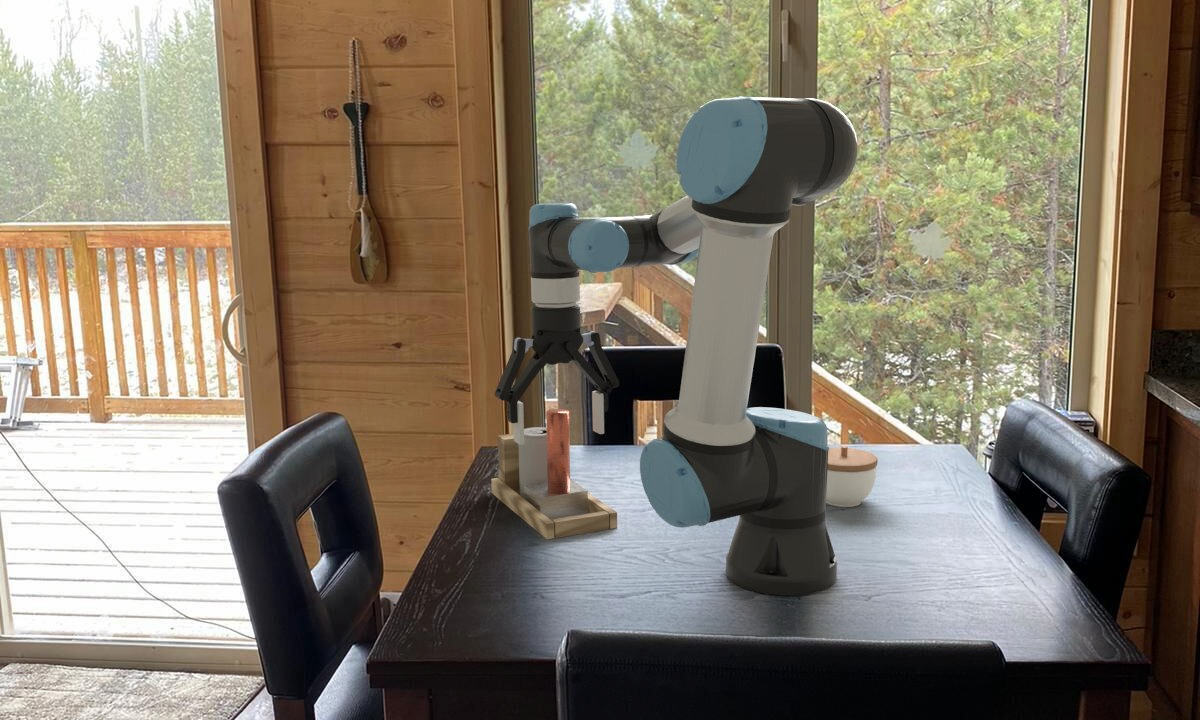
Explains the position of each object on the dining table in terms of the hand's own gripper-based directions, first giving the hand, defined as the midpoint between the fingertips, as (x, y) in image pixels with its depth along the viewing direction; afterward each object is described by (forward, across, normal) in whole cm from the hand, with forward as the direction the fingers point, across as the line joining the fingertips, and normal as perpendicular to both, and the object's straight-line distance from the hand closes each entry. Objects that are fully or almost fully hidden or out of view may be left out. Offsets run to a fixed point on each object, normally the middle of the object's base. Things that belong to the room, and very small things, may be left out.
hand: (559, 437), depth 176 cm
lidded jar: (+14, -45, +13) cm, 49 cm away
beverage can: (+13, 0, -10) cm, 16 cm away
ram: (+13, 0, -2) cm, 13 cm away
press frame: (+13, 0, -4) cm, 14 cm away
